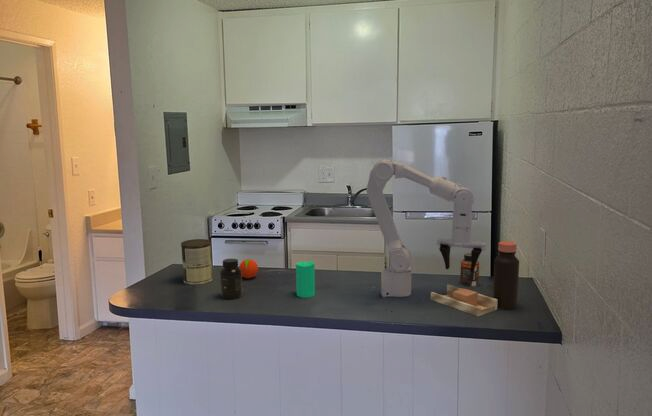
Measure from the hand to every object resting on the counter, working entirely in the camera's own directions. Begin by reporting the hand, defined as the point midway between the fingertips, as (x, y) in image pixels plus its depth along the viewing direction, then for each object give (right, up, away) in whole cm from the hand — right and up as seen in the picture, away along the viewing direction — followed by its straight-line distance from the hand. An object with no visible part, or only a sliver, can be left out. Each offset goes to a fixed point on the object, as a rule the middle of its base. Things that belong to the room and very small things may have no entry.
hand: (459, 270), depth 153 cm
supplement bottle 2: (+7, -8, +13) cm, 17 cm away
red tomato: (-70, -7, +26) cm, 75 cm away
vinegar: (+11, -11, -7) cm, 17 cm away
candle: (-48, -9, +8) cm, 50 cm away
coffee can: (-88, -7, +25) cm, 91 cm away
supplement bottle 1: (-72, -10, +8) cm, 73 cm away
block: (0, -10, -7) cm, 12 cm away
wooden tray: (+2, -10, -4) cm, 11 cm away
